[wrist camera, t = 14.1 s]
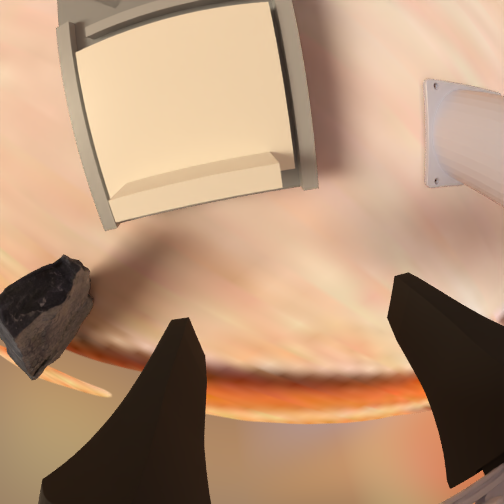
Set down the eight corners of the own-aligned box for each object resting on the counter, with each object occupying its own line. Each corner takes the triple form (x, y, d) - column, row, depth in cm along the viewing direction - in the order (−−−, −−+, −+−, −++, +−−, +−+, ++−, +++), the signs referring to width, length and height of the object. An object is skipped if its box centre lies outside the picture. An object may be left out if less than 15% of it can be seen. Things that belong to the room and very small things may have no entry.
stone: (99, 350, 23) (72, 441, 15) (45, 330, 22) (8, 412, 13) (112, 221, 17) (42, 327, 9) (40, 198, 16) (-50, 278, 7)
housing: (253, -95, 7) (260, -120, 4) (306, 172, 17) (323, 188, 14) (74, -49, 7) (53, -65, 4) (119, 210, 17) (100, 233, 14)
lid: (266, 6, 10) (278, -17, 7) (291, 165, 14) (309, 183, 11) (81, 54, 10) (49, 47, 7) (117, 202, 14) (94, 227, 11)
